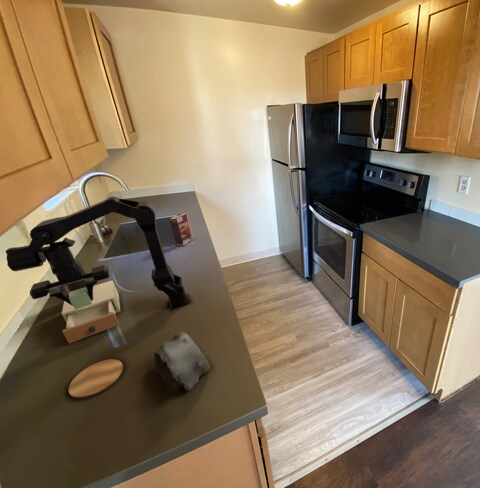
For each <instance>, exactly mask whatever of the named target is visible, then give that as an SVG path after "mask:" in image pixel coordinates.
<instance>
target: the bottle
mask: <svg viewBox="0 0 480 488" xmlns="http://www.w3.org/2000/svg"><path fill="white" fill-rule="evenodd" d="M70 251H71V253H72V255H73V257H74V254H73V252H72V250H71V249H70ZM74 259H75V261H76V262H80V265H81V267H82V270H83V273H82V274H86V273H87V272H86V271H85V269H84V267H83V265H82V263H81V261H80V260H78V259H76V258H75V257H74ZM66 287H67V290H68V291H69V293H70V292H71V291H75V290H78V289H81V288H85V287H86V281H85V280H83V281H80V282H76V283H73V284H69V285H66Z"/></svg>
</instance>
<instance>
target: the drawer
mask: <svg viewBox="0 0 480 488" xmlns="http://www.w3.org/2000/svg"><path fill="white" fill-rule="evenodd" d="M116 314H117V313H115V305H114V303H113V301H112V300H109V301H106V302H103V303H100V304H97V305H94V306H91V307H88V308H85V309H82V310H79V311H76V312H73V313H70V314H68V319H67V322H66V326H65V327H66V328H63V329H62V334H63V336H64V338H65V339H66V341H67V343H68V344H72V343H75V342H78V341H80V340H83V339H86V338H88V337H90V336H93V335H96V334H98V333H99V334H100V333H101V332H104V331H106V330H110V329H112V328H114V327H117V326H120V322H119V320H118V317H117V316H116Z"/></svg>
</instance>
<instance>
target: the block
mask: <svg viewBox="0 0 480 488" xmlns="http://www.w3.org/2000/svg"><path fill="white" fill-rule="evenodd" d="M69 293H70V294H69ZM69 293H68V294H69V300H70V302H71V303H72V305H73V307H74V309H78V308H81V307H84V306H87V305H90V304H92V300H91V298H90V297H89V294H88V291H87V288H86V287H85V288H81V289H78V290H75V291H71V292H70V291H69Z"/></svg>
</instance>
